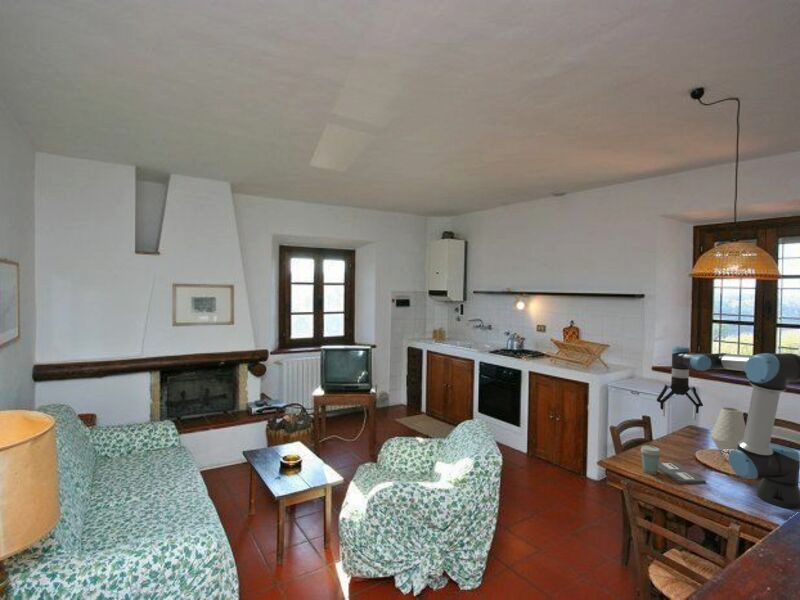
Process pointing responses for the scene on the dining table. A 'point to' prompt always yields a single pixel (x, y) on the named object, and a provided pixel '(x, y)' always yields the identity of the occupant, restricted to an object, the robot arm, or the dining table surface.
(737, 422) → the vase
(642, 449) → the coffee cup
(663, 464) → the board
